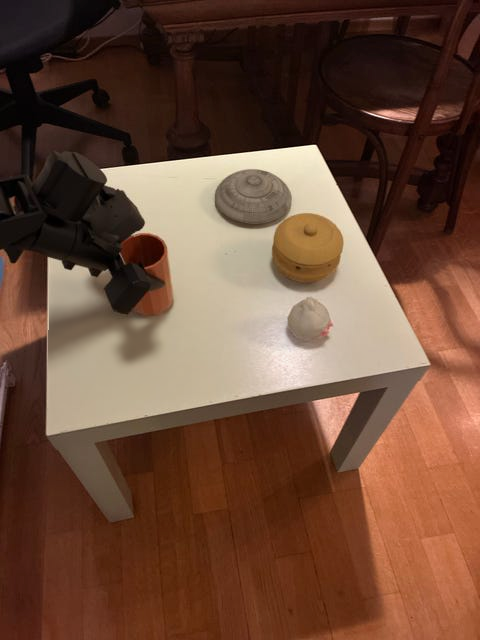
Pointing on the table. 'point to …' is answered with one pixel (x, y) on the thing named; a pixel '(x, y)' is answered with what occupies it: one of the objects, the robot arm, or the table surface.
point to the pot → (307, 247)
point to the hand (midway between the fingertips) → (154, 267)
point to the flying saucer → (253, 196)
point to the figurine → (309, 320)
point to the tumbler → (150, 269)
